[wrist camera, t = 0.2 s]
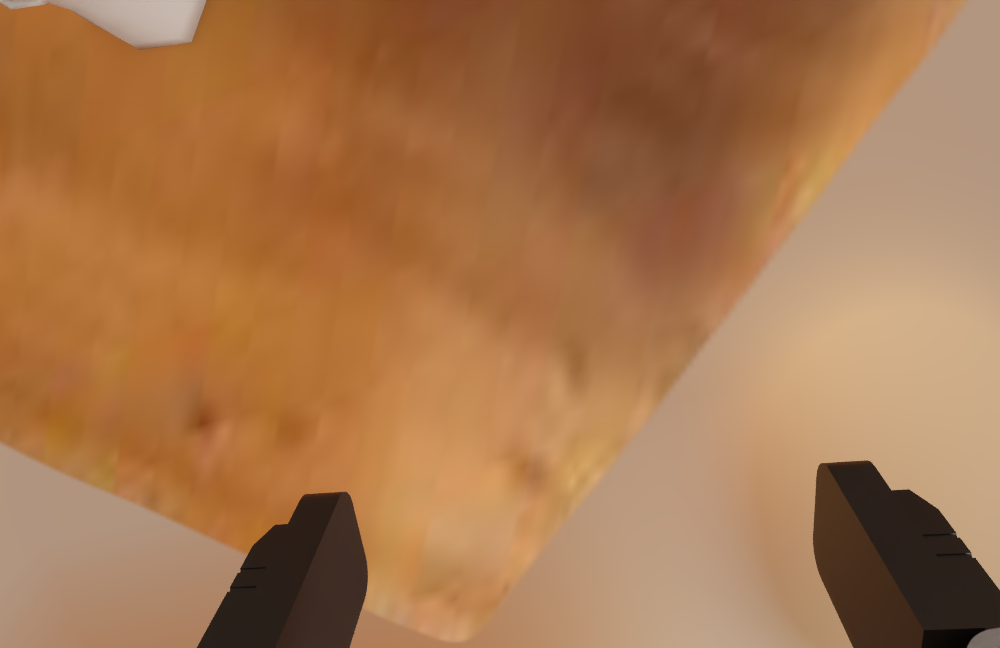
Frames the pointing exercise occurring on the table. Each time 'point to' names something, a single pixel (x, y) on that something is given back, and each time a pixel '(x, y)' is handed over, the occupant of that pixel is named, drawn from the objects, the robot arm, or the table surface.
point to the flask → (134, 18)
